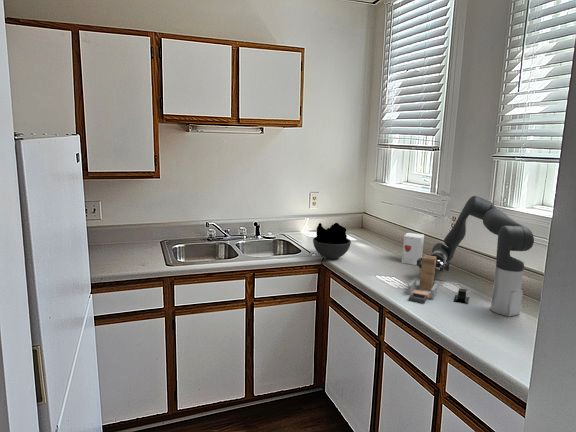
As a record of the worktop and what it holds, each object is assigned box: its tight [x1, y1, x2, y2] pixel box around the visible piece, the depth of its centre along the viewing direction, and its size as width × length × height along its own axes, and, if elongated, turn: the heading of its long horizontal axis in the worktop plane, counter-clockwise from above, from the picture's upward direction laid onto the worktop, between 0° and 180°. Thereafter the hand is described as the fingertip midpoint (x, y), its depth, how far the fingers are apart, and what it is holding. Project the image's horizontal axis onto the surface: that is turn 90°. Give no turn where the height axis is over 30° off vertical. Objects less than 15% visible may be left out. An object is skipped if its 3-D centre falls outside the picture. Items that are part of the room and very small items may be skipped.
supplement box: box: [401, 232, 425, 266], centre depth 222 cm, size 9×9×15 cm
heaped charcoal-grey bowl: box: [312, 222, 352, 260], centre depth 224 cm, size 20×20×19 cm
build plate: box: [453, 287, 470, 305], centre depth 173 cm, size 12×7×5 cm, turn 153°
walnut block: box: [418, 254, 436, 292], centre depth 184 cm, size 5×5×14 cm
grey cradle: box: [406, 279, 439, 301], centre depth 177 cm, size 9×10×4 cm
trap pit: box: [408, 293, 428, 305], centre depth 171 cm, size 6×6×2 cm
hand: (430, 268), depth 188 cm, fingers open, 8 cm apart
